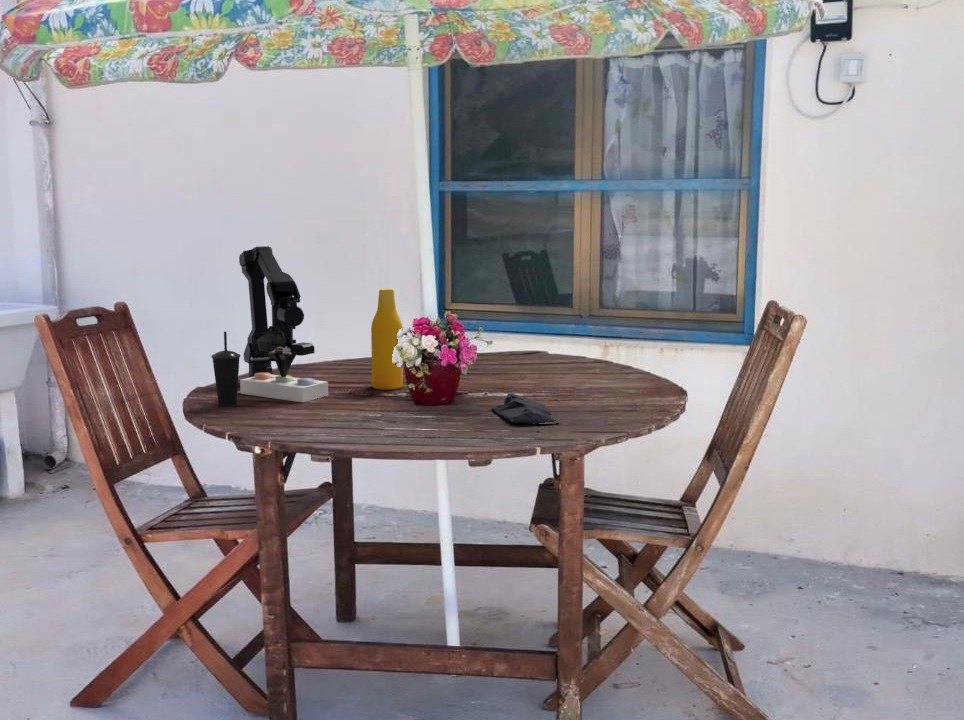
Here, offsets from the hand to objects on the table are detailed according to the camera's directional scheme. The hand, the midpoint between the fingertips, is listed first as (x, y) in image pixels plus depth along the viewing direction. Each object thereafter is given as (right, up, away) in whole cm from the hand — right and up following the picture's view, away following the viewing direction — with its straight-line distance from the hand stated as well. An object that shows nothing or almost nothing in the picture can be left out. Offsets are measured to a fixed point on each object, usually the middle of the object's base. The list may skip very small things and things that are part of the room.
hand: (283, 376), depth 304 cm
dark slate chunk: (+68, -11, -25) cm, 73 cm away
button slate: (+7, -6, -3) cm, 9 cm away
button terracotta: (-7, -4, +5) cm, 9 cm away
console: (0, -5, +1) cm, 5 cm away
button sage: (0, -5, +1) cm, 5 cm away
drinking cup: (-13, -8, -13) cm, 20 cm away
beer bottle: (+28, -3, +13) cm, 31 cm away
